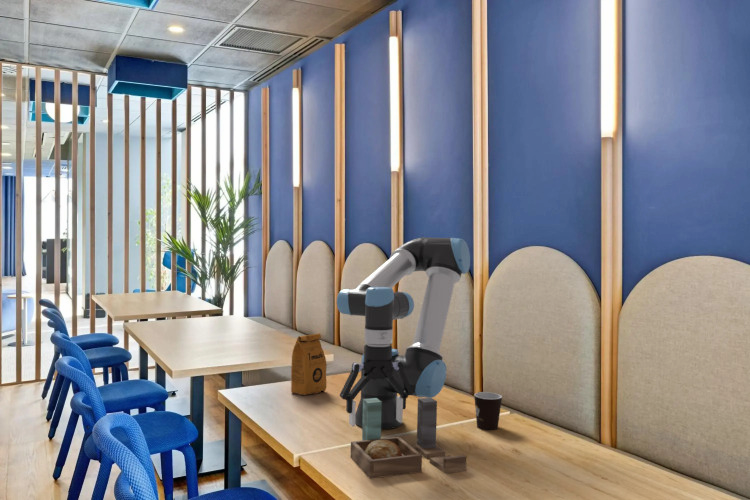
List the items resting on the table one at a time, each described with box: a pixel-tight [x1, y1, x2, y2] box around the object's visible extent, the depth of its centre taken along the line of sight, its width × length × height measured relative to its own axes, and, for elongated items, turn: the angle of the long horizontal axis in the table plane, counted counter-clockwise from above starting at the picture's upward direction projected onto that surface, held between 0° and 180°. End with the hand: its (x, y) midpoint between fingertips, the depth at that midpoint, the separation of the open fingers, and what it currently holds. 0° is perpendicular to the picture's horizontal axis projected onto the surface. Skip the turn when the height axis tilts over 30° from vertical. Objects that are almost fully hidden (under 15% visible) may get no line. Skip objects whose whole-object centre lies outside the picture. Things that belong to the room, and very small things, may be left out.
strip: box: [429, 454, 467, 475], centre depth 159 cm, size 8×6×4 cm
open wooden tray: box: [350, 398, 423, 479], centre depth 162 cm, size 20×14×14 cm
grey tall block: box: [412, 397, 447, 459], centre depth 169 cm, size 8×6×14 cm
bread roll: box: [365, 440, 402, 460], centre depth 159 cm, size 10×10×8 cm
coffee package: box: [290, 332, 327, 396], centre depth 230 cm, size 10×12×22 cm
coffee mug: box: [473, 391, 503, 431], centre depth 194 cm, size 12×9×10 cm
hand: (375, 423), depth 165 cm, fingers open, 13 cm apart
